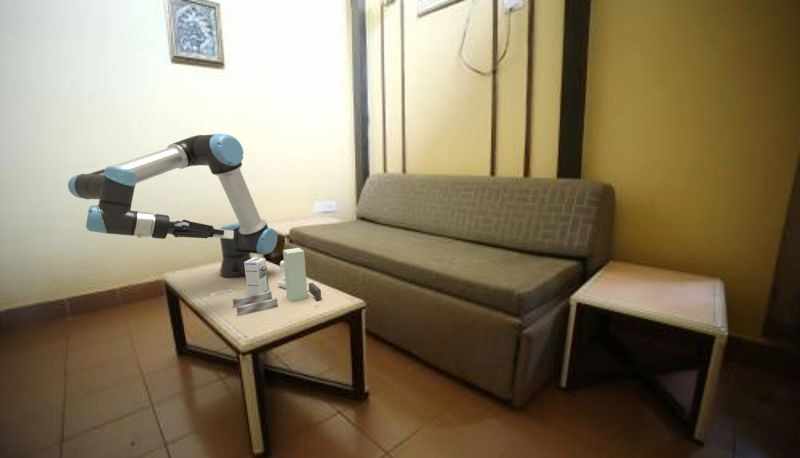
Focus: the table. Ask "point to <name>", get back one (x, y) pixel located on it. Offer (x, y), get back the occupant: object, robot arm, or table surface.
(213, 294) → the phone case
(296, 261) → the block
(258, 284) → the syrup box
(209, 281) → the table surface
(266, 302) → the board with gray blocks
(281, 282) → the figurine
